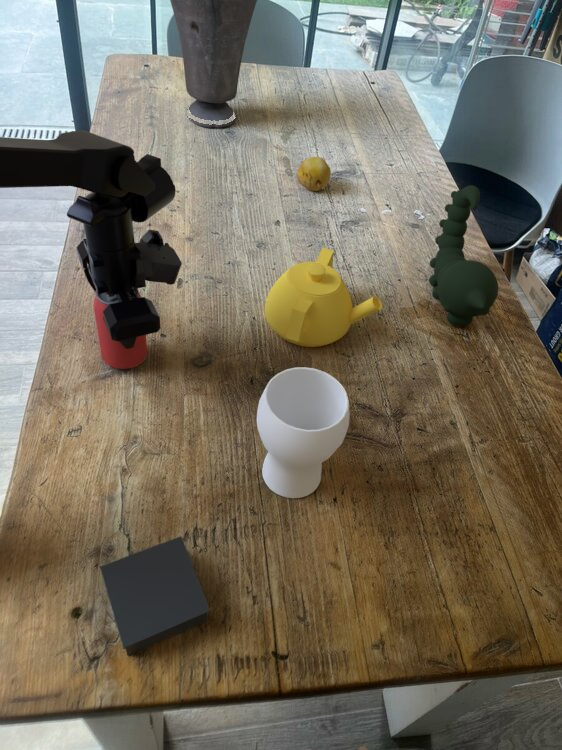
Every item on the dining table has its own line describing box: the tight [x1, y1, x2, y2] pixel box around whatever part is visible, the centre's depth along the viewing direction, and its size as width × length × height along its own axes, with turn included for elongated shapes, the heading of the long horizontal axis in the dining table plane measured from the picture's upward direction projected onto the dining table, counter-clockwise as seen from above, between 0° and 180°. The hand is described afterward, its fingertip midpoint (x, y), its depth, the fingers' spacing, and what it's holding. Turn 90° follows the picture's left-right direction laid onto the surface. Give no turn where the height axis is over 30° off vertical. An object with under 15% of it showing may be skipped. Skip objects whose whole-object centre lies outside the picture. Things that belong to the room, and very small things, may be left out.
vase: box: [169, 0, 258, 129], centre depth 134 cm, size 22×22×30 cm
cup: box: [256, 366, 351, 499], centre depth 70 cm, size 11×11×15 cm
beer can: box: [93, 287, 148, 370], centre depth 82 cm, size 7×7×12 cm
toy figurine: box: [428, 185, 499, 328], centre depth 97 cm, size 9×19×25 cm
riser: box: [99, 535, 211, 657], centre depth 62 cm, size 9×9×3 cm
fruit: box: [296, 156, 332, 192], centre depth 124 cm, size 7×7×10 cm
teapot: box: [264, 247, 383, 348], centre depth 92 cm, size 20×18×11 cm
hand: (122, 331), depth 83 cm, fingers closed on beer can, 6 cm apart
